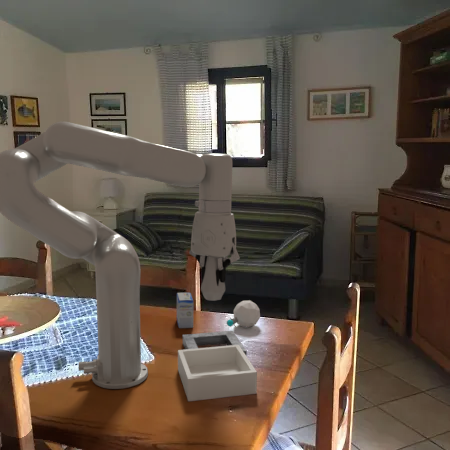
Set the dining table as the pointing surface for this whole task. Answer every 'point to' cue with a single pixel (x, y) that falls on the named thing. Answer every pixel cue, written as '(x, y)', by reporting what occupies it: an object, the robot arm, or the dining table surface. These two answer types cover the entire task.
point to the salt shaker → (212, 281)
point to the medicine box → (185, 310)
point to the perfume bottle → (245, 314)
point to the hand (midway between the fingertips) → (213, 283)
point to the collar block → (211, 339)
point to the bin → (216, 372)
